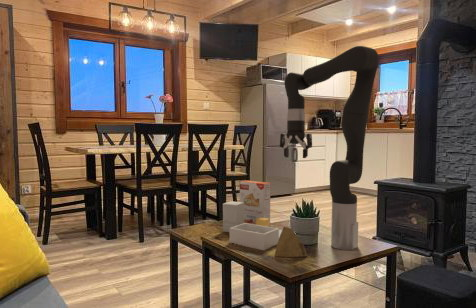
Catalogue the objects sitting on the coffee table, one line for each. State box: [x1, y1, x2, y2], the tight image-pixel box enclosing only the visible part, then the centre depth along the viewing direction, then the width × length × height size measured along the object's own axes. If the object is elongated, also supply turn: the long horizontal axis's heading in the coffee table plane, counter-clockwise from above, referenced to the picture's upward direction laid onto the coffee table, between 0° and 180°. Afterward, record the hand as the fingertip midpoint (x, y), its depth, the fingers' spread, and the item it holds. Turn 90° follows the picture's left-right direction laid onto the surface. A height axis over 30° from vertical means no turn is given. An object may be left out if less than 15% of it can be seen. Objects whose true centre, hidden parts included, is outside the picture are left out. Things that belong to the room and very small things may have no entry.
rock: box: [273, 226, 308, 258], centre depth 132 cm, size 11×9×10 cm
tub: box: [228, 223, 279, 251], centre depth 148 cm, size 16×11×6 cm
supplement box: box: [222, 200, 244, 233], centre depth 167 cm, size 7×7×13 cm
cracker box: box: [239, 179, 271, 225], centre depth 177 cm, size 14×6×21 cm, turn 53°
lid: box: [256, 217, 283, 238], centre depth 158 cm, size 20×12×7 cm, turn 55°
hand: (295, 157), depth 162 cm, fingers open, 8 cm apart
